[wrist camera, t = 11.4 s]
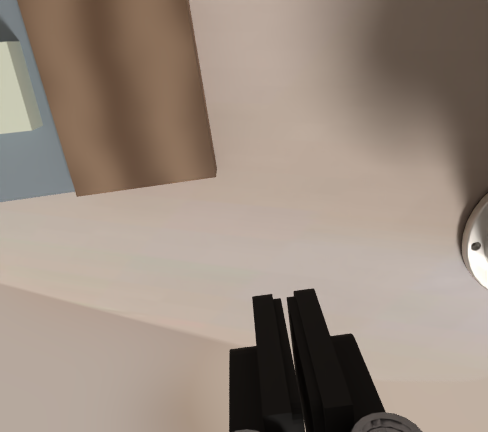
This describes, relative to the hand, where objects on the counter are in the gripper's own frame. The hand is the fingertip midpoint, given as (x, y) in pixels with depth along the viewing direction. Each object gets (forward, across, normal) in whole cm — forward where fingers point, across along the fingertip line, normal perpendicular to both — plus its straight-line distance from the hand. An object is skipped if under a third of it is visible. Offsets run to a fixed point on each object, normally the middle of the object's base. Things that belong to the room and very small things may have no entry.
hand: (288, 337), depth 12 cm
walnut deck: (+25, +8, -6) cm, 27 cm away
